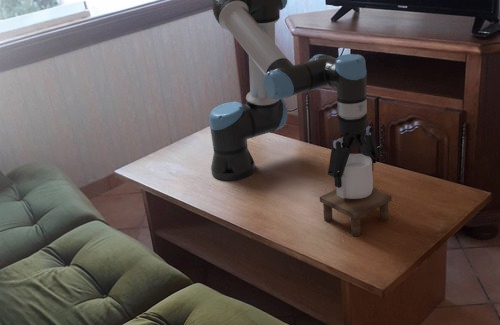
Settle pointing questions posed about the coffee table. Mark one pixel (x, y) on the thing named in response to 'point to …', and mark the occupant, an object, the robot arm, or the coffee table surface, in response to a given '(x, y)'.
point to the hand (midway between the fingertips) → (354, 189)
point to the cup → (358, 176)
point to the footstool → (356, 207)
